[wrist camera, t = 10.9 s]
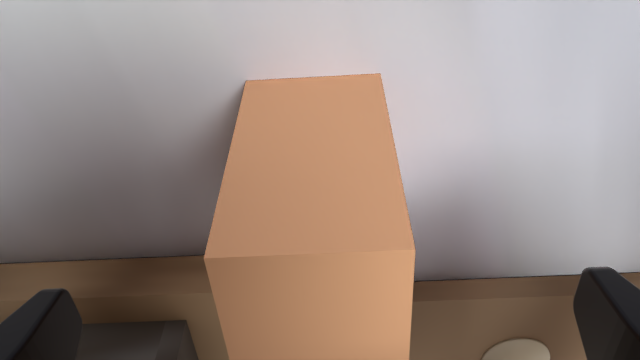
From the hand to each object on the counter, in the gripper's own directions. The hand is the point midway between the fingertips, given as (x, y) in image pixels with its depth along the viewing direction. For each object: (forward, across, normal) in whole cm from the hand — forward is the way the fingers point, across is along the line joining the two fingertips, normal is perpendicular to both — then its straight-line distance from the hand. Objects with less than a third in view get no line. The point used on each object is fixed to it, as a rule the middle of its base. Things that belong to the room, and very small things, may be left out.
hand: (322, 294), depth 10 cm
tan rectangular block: (+5, 0, 0) cm, 5 cm away
